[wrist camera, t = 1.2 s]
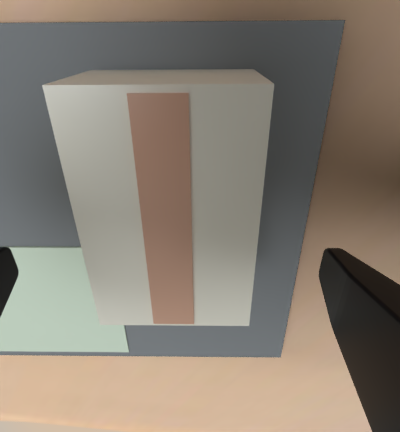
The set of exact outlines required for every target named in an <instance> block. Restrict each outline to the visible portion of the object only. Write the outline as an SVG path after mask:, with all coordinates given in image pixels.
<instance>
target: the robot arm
mask: <svg viewBox="0 0 400 432" xmlns="http://www.w3.org/2000/svg"><path fill="white" fill-rule="evenodd" d="M18 274H19V271H18V267H17V264H16V262H15V259H14V256H13V254H12V251H11V249H10V248H8V247H0V317H1V315H2V313H3V310H4V308H5V306H6V303H7V301H8V299H9V297H10V294H11V292H12V290H13V287H14V285H15V283H16V280H17V278H18ZM319 279H320V283H321V287H322V291H323V295H324V299H325V302H326V306H327V310H328V314H329V318H330V322H331V325H332V328H333V331H334V334H335V337H336V339H337V342H338V344H339V347H340V349H341V352H342V355H343V357H344V360H345V362H346V365H347V368H348V370H349V373H350V375H351V378H352V380H353V383H354V386H355V388H356V391H357V393H358V396H359V398H360V401H361V404H362V406H363V409H364V411H365V414H366V417H367V419H368V422H369V424H370V427H371V429H372V432H400V285H399V284H397V283H396V282H394V281H393V280H391V279H389V278H388V277H386V276H385V275H383V274H381V273H380V272H378V271H377V270H375V269H373V268H372V267H370V266H368V265H367V264H365V263H364V262H362V261H360V260H359V259H357V258H356V257H354V256H352V255H351V254H349V253H348V252H346V251H344V250H343V249H340V248H327V249H325V251H324V253H323V257H322V261H321V266H320V270H319Z"/></svg>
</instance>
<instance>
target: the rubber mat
mask: <svg viewBox="0 0 400 432" xmlns="http://www.w3.org/2000/svg"><path fill="white" fill-rule="evenodd" d="M344 23H345V20H304V21H187V22H70V23H0V247H8V248H10V249H11V251H12V254H13V256H14V259H15V262H16V264H17V267H18V271H19V274H18V278H17V280H16V283H15V285H14V287H13V290H12V292H11V294H10V297H9V299H8V301H7V303H6V306H5V308H4V310H3V313H2V315H1V317H0V355H62V356H184V357H281V353H282V347H283V342H284V337H285V332H286V326H287V321H288V316H289V311H290V306H291V300H292V295H293V290H294V285H295V279H296V274H297V269H298V264H299V258H300V253H301V248H302V243H303V238H304V232H305V227H306V222H307V217H308V211H309V206H310V201H311V196H312V190H313V185H314V180H315V175H316V170H317V164H318V159H319V154H320V149H321V143H322V138H323V133H324V128H325V122H326V117H327V112H328V107H329V101H330V96H331V91H332V86H333V81H334V75H335V70H336V65H337V60H338V54H339V49H340V44H341V39H342V33H343V28H344ZM182 69H254V70H255V71H257V72H258V73H260V74H261V75H263V76H264V77H265V78H267V79H268V80H270V81H271V82H272V83H274V92H273V101H272V111H271V121H270V130H269V140H268V149H267V159H266V169H265V178H264V188H263V197H262V207H261V217H260V226H259V236H258V245H257V255H256V265H255V274H254V284H253V293H252V303H251V313H250V322H249V326H174V325H100V323H99V319H98V315H97V311H96V306H95V302H94V298H93V294H92V290H91V286H90V282H89V277H88V273H87V269H86V265H85V261H84V257H83V253H82V248H81V244H80V240H79V236H78V232H77V228H76V224H75V220H74V215H73V211H72V207H71V203H70V199H69V195H68V191H67V186H66V182H65V178H64V174H63V170H62V166H61V162H60V157H59V153H58V149H57V145H56V141H55V137H54V133H53V128H52V124H51V120H50V116H49V112H48V108H47V104H46V99H45V95H44V91H43V87H42V85H44V84H47V83H51V82H54V81H57V80H60V79H64V78H67V77H70V76H73V75H76V74H80V73H83V72H86V71H89V70H182Z"/></svg>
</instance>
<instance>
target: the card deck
mask: <svg viewBox="0 0 400 432" xmlns="http://www.w3.org/2000/svg"><path fill="white" fill-rule="evenodd" d="M42 87H43V91H44V95H45V99H46V104H47V108H48V112H49V116H50V120H51V124H52V128H53V133H54V137H55V141H56V145H57V149H58V153H59V157H60V162H61V166H62V170H63V174H64V178H65V182H66V186H67V191H68V195H69V199H70V203H71V207H72V211H73V215H74V220H75V224H76V228H77V232H78V236H79V240H80V244H81V248H82V253H83V257H84V261H85V265H86V269H87V273H88V277H89V282H90V286H91V290H92V294H93V298H94V302H95V306H96V311H97V315H98V319H99V323H100V325H174V326H249V322H250V313H251V303H252V293H253V284H254V274H255V265H256V255H257V245H258V236H259V226H260V217H261V207H262V197H263V188H264V178H265V169H266V159H267V149H268V140H269V130H270V121H271V111H272V101H273V92H274V83H272V82H271V81H270V80H268V79H267V78H265V77H264V76H263V75H261V74H260V73H258V72H257V71H255V70H254V69H182V70H89V71H86V72H83V73H80V74H76V75H73V76H70V77H67V78H64V79H60V80H57V81H54V82H51V83H47V84H44V85H42Z"/></svg>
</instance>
